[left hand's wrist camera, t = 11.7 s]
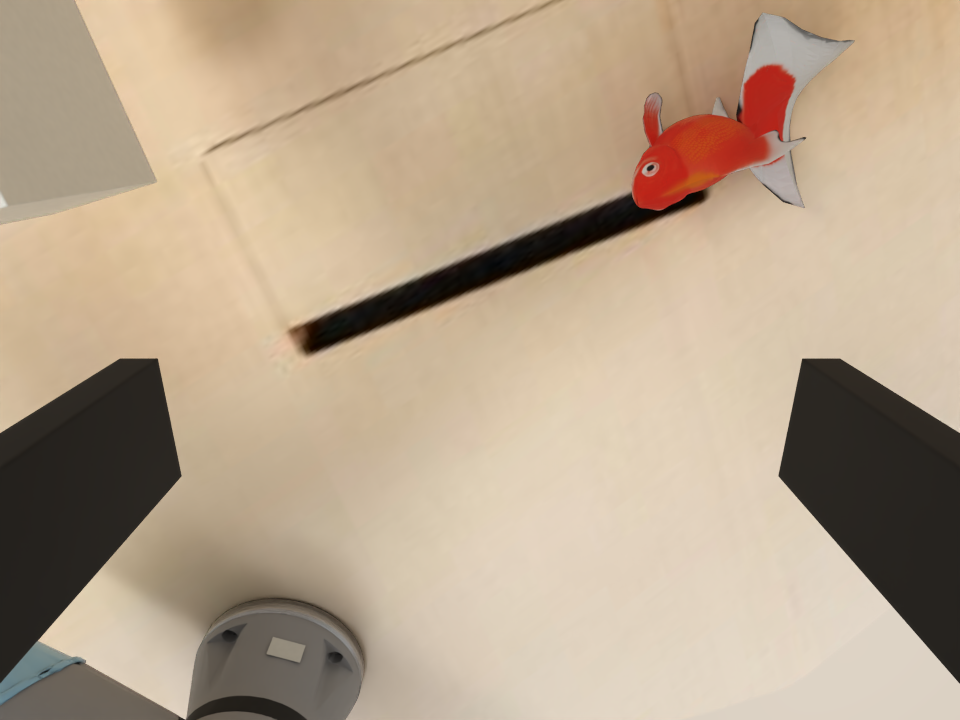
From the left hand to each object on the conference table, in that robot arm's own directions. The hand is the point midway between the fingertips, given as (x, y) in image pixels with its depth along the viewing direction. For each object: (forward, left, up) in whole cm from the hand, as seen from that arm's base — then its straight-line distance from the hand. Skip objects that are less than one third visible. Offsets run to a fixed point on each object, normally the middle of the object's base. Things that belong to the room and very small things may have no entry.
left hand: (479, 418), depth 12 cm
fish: (+10, -14, -32) cm, 36 cm away
